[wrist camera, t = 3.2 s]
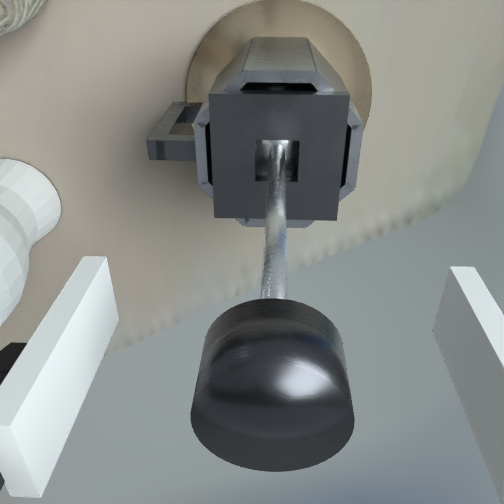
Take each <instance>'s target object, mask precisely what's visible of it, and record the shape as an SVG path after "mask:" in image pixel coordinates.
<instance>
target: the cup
mask: <svg viewBox="0 0 504 504" xmlns="http://www.w3.org/2000/svg"><path fill="white" fill-rule="evenodd" d="M60 214H61V203H60V200H59V197H58V194H57V192H56V190H55V188H54V187H53V185H52V184H51V182H50V181H49V180H48V179H47V178H46V177H45V176H44V175H43V174H42V173H41V172H39V171H38V170H36V169H35V168H33V167H32V166H30V165H27V164H25V163H23V162H20V161H16V160H11V159H0V327H1V325H2V324H3V323H4V321H5V320H6V319H7V317H8V316H9V315H10V313H11V312H12V311H13V309H14V308H15V307H16V305H17V304H18V302H19V301H20V300H21V297H22V293H23V289H24V285H25V281H26V278H27V274H28V270H29V254H28V253H29V251H30V249H31V247H32V245H33V244H34V243H35V242H37V241H38V240H40V239H41V238H42V237H44V236H45V235H47V234H48V233H49V232H50V231H51V230H52V229H53V228H54V227H55V226H56V224H57V223H58V221H59V218H60Z"/></svg>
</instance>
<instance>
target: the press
mask: <svg viewBox="0 0 504 504" xmlns="http://www.w3.org/2000/svg"><path fill="white" fill-rule="evenodd" d="M186 91H187V102H173V103H172V105H171V106H170V108H169V109H168V110H167V112H166V113H165V115H164V116H163V118H162V119H161V120H160V122H159V123H158V125H157V126H156V127H155V129H154V130H153V132H152V133H151V134H150V136H149V137H148V139H147V147H148V155H149V160H188V161H196V164H197V179H198V185H199V187H200V188H201V189H203V190H204V191H205V192H206V193H207V194H208V195H209V196H210V197H212V198H213V199H214V218H235V219H236V220H237V221H239V222H240V223H241V224H242V225H243V226H244V225H245V226H246V227H265V216H266V199H267V182H268V176H256V140H288V141H299V154H298V172H297V176H285V183H286V228H305V226H306V227H308V226H309V225H310V224H312V223H313V222H314V221H315V220H330V221H337V212H338V203H339V201H341V200H342V199H343V198H344V197H346V196H347V195H348V194H349V193H351V192H352V191H353V190H354V188H356V180H357V172H358V164H359V157H360V149H361V141H362V133H363V130H364V128H365V126H366V123H367V120H368V117H369V112H370V107H371V98H372V84H371V76H370V71H369V66H368V63H367V60H366V57H365V54H364V52H363V50H362V48H361V46H360V45H359V43H358V41H357V40H356V38H355V37H354V35H353V34H352V33H351V31H350V30H349V29H348V28H347V27H346V26H345V25H344V24H343V23H342V22H341V21H340V20H339V19H338V18H336V17H335V16H334V15H333V14H331V13H330V12H328V11H326V10H325V9H323V8H321V7H319V6H317V5H314V4H312V3H309V2H306V1H302V0H260V1H255V2H252V3H250V4H247V5H244V6H242V7H240V8H238V9H237V10H235V11H233V12H231V13H230V14H228V15H227V16H226V17H224V18H223V19H222V20H220V21H219V22H218V23H217V24H216V25H215V26H214V27H213V28H212V29H211V31H210V32H209V33H208V34H207V36H206V37H205V38H204V40H203V41H202V43H201V44H200V46H199V48H198V50H197V52H196V54H195V56H194V59H193V61H192V64H191V67H190V71H189V75H188V81H187V89H186ZM186 123H191V125H192V128H193V130H194V135H180V134H181V132H182V130H183V128H184V126H185V124H186Z"/></svg>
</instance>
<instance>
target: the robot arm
mask: <svg viewBox="0 0 504 504" xmlns="http://www.w3.org/2000/svg"><path fill="white" fill-rule="evenodd" d="M118 321H119V317H118V312H117V307H116V302H115V297H114V292H113V287H112V282H111V277H110V272H109V267H108V262H107V257H98V256H84V257H83V258H82V260H81V261H80V263H79V264H78V266H77V267H76V269H75V270H74V272H73V274H72V275H71V277H70V278H69V280H68V281H67V283H66V284H65V286H64V288H63V289H62V291H61V292H60V294H59V295H58V297H57V298H56V300H55V301H54V303H53V305H52V306H51V308H50V309H49V311H48V312H47V314H46V315H45V317H44V319H43V320H42V322H41V323H40V325H39V326H38V328H37V329H36V331H35V333H34V334H33V336H32V337H31V339H30V340H29V342H28V343H13V342H11V343H10V344H9V345H7V346H6V347H5V348H3V349H2V350H1V351H0V490H1V488H2V486H3V484H5V486H6V487H7V490H8V492H9V494H10V496H16V497H36V498H41V497H42V495H43V492H44V490H45V488H46V485H47V483H48V481H49V479H50V476H51V474H52V472H53V469H54V467H55V465H56V463H57V460H58V458H59V456H60V453H61V451H62V449H63V447H64V444H65V442H66V440H67V438H68V435H69V433H70V431H71V428H72V426H73V424H74V421H75V419H76V417H77V415H78V412H79V410H80V408H81V405H82V403H83V401H84V399H85V396H86V394H87V392H88V390H89V387H90V385H91V383H92V380H93V378H94V376H95V374H96V371H97V369H98V367H99V364H100V362H101V359H102V358H103V355H104V353H105V351H106V349H107V346H108V344H109V342H110V339H111V337H112V335H113V333H114V330H115V328H116V326H117V323H118ZM432 331H433V333H434V336H435V338H436V341H437V344H438V346H439V349H440V351H441V354H442V356H443V358H444V361H445V364H446V366H447V369H448V371H449V374H450V376H451V379H452V381H453V384H454V386H455V389H456V391H457V394H458V396H459V399H460V401H461V404H462V406H463V409H464V411H465V414H466V417H467V419H468V421H469V424H470V426H471V429H472V431H473V434H474V437H475V439H476V442H477V444H478V447H479V449H480V452H481V454H482V456H483V459H484V462H485V464H486V467H487V469H488V472H489V474H490V477H491V479H492V482H493V484H494V487H495V489H496V492H497V495H498V497H499V500H500V502H501V504H504V315H503V314H502V312H501V310H500V309H499V307H498V305H497V304H496V302H495V301H494V299H493V297H492V296H491V294H490V292H489V291H488V289H487V287H486V286H485V284H484V283H483V281H482V279H481V278H480V276H479V274H478V273H477V271H476V270H475V268H474V267H452V266H451V267H450V268H449V272H448V276H447V279H446V283H445V286H444V290H443V294H442V297H441V301H440V305H439V308H438V312H437V315H436V319H435V323H434V326H433V330H432Z"/></svg>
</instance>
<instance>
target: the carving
mask: <svg viewBox="0 0 504 504" xmlns="http://www.w3.org/2000/svg"><path fill="white" fill-rule="evenodd" d="M47 1H48V0H0V35H3V34H7V33H10V32H12V31H14V30H16V29H18V28H20V27H21V26H22V25H24V24H25V23H27V22H28V21H29V20H31V19H33V18H34V17H36V16H37V15H38V14H39V13H40V12H41V11H42V9H43V6H44V5H45V3H46V2H47Z"/></svg>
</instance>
